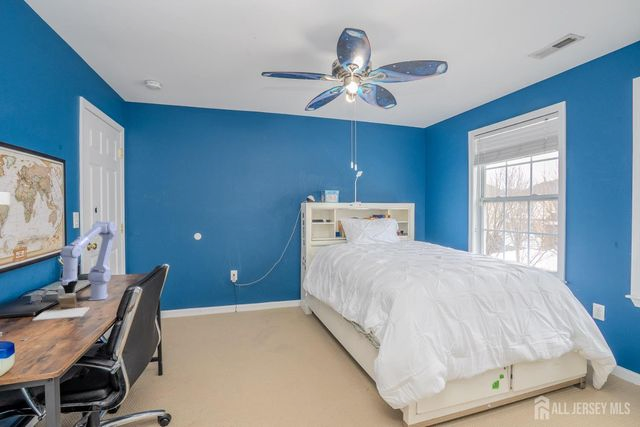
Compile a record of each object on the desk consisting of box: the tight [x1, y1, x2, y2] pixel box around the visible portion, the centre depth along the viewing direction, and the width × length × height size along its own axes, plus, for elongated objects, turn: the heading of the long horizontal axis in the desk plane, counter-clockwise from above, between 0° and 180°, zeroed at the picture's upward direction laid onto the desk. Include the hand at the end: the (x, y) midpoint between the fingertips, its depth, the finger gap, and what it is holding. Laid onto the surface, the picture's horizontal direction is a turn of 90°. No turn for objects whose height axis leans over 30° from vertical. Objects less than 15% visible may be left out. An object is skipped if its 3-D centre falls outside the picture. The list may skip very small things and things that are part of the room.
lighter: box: [30, 287, 50, 302], centre depth 161 cm, size 7×2×8 cm, turn 117°
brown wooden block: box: [58, 292, 78, 309], centre depth 154 cm, size 2×6×8 cm, turn 114°
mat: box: [31, 306, 90, 322], centre depth 147 cm, size 14×18×1 cm
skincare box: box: [57, 285, 76, 299], centre depth 169 cm, size 6×6×7 cm
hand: (69, 296), depth 155 cm, fingers closed
